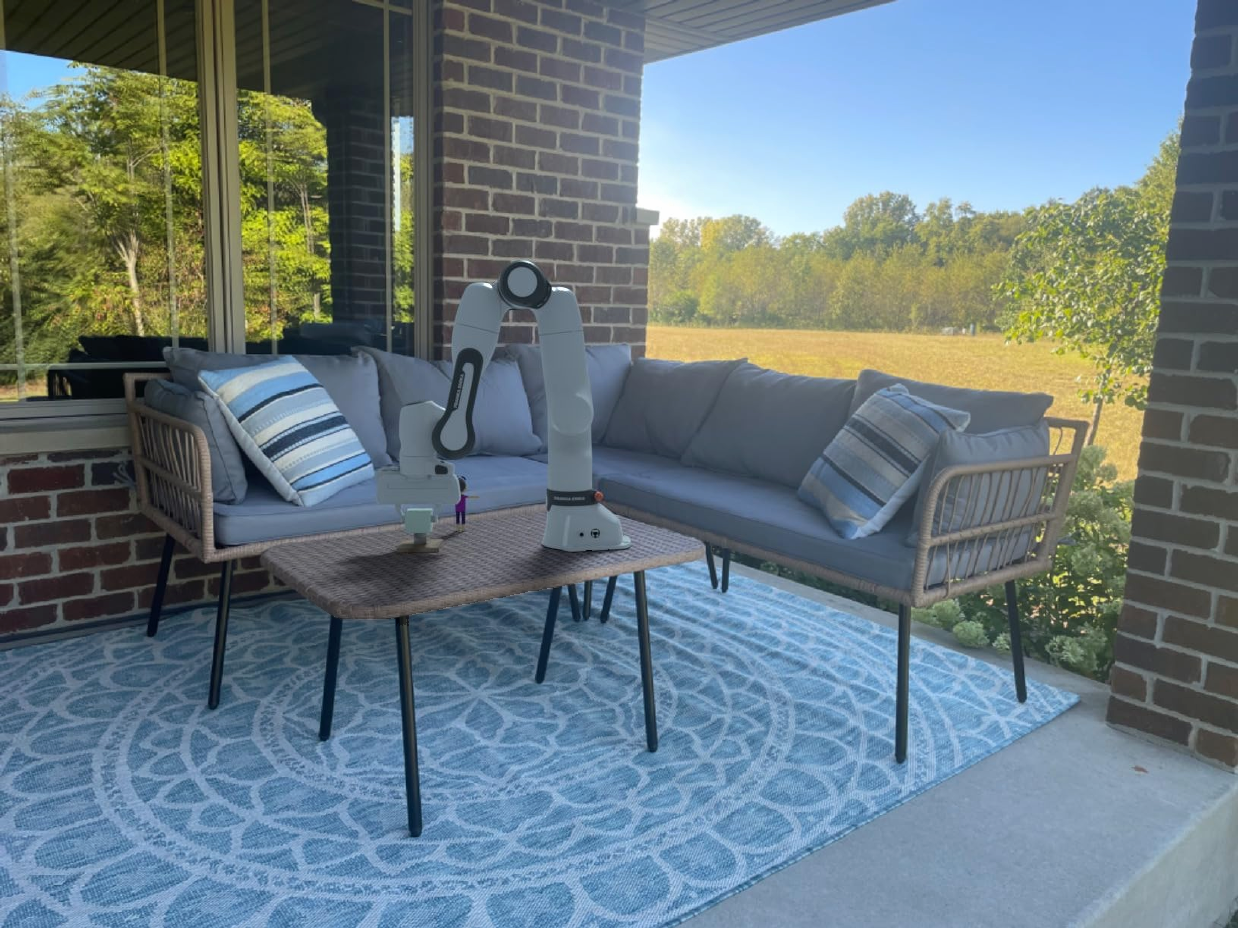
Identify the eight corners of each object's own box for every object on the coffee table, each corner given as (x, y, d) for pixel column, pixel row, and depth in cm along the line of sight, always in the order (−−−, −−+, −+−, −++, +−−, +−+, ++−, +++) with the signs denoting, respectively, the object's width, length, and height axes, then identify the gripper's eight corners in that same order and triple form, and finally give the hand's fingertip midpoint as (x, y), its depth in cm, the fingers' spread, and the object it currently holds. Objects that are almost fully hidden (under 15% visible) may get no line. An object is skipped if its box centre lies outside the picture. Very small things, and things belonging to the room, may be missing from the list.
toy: (481, 530, 242) (480, 475, 240) (475, 534, 237) (474, 478, 235) (444, 528, 243) (443, 474, 242) (437, 533, 238) (436, 477, 236)
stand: (443, 543, 226) (442, 523, 225) (438, 551, 216) (438, 531, 215) (402, 543, 225) (402, 524, 224) (396, 552, 215) (396, 532, 215)
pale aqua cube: (432, 528, 223) (432, 508, 223) (430, 532, 217) (429, 512, 217) (408, 528, 223) (408, 508, 222) (405, 533, 217) (404, 512, 216)
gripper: (372, 468, 214) (373, 524, 216) (458, 468, 216) (459, 524, 218) (377, 464, 220) (378, 519, 222) (461, 464, 222) (461, 519, 224)
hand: (419, 522), depth 220 cm, fingers closed on pale aqua cube, 6 cm apart
